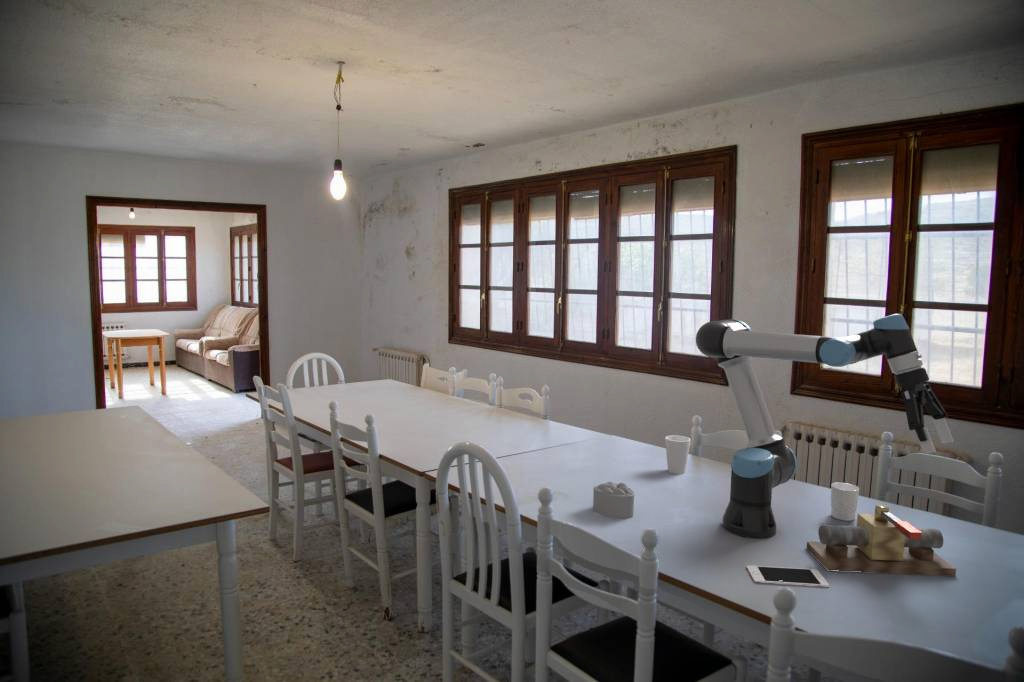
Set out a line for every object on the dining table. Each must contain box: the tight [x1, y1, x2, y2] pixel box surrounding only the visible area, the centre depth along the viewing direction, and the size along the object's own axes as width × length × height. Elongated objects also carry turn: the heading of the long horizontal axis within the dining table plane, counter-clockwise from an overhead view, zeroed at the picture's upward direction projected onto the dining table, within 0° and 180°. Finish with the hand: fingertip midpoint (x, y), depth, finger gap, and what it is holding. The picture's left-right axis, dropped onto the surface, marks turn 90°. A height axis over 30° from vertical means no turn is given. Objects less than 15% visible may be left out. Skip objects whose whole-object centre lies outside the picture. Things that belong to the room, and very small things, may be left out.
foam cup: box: [664, 434, 692, 475], centre depth 249 cm, size 10×9×13 cm
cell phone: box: [745, 564, 830, 587], centre depth 165 cm, size 9×18×1 cm, turn 84°
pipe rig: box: [806, 513, 957, 577], centre depth 174 cm, size 32×14×12 cm, turn 87°
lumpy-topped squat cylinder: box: [592, 481, 635, 520], centre depth 207 cm, size 10×13×9 cm
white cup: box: [830, 481, 860, 522], centre depth 206 cm, size 8×8×10 cm
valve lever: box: [874, 504, 922, 540], centre depth 166 cm, size 3×18×3 cm, turn 177°
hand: (939, 447), depth 170 cm, fingers open, 13 cm apart
